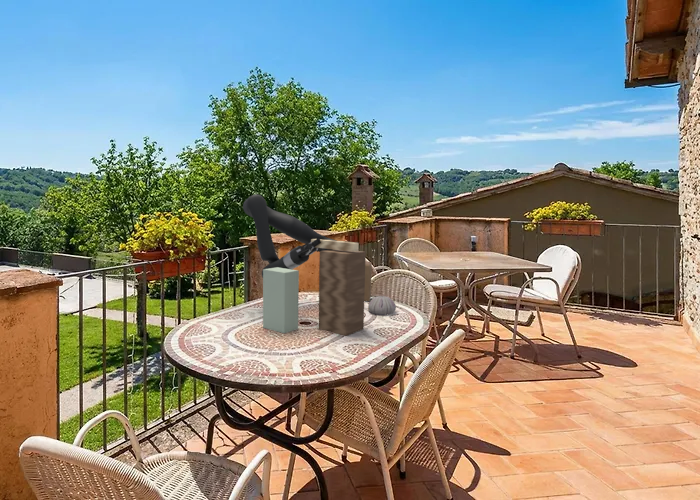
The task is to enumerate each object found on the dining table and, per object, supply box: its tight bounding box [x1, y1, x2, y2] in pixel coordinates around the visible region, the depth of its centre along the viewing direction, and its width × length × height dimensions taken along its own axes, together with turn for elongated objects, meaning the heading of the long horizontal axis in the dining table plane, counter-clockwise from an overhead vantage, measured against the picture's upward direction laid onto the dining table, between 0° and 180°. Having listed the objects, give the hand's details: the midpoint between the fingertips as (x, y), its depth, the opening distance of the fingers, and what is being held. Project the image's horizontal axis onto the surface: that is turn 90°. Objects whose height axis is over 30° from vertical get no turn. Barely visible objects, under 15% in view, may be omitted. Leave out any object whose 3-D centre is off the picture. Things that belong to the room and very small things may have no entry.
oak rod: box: [311, 239, 359, 252], centre depth 180 cm, size 22×3×3 cm, turn 54°
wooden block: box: [364, 261, 373, 302], centre depth 235 cm, size 10×10×20 cm
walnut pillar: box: [317, 249, 367, 337], centre depth 179 cm, size 14×12×32 cm
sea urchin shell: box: [367, 295, 397, 316], centre depth 209 cm, size 13×14×8 cm
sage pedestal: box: [262, 267, 300, 334], centre depth 179 cm, size 12×8×24 cm, turn 54°
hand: (322, 240), depth 183 cm, fingers closed on oak rod, 3 cm apart
